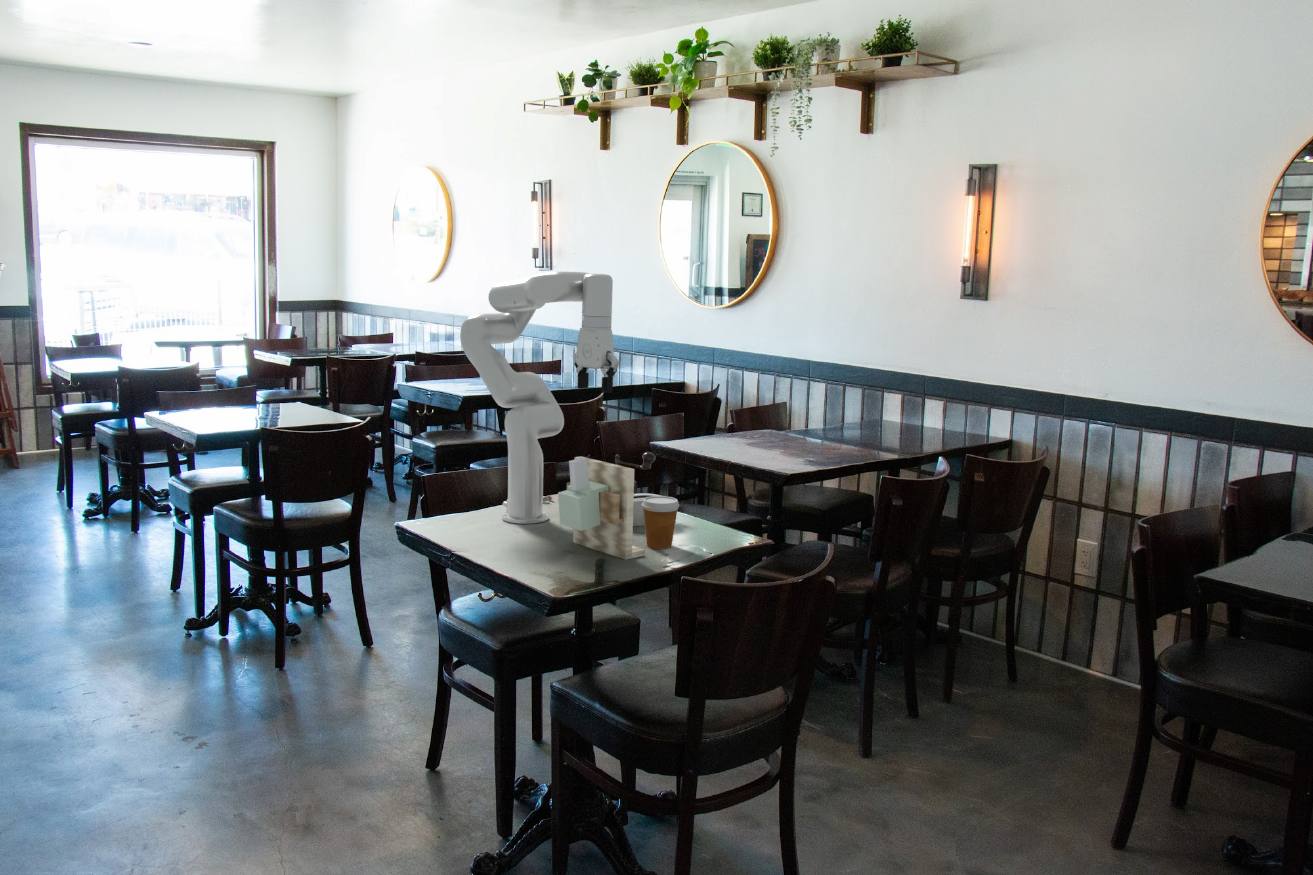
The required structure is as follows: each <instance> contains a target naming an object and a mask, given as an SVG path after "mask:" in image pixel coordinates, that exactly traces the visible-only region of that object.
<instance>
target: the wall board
mask: <svg viewBox="0 0 1313 875" xmlns="http://www.w3.org/2000/svg"><path fill="white" fill-rule="evenodd" d="M578 458H586V459H587V462H588V477H589V481H592V482H596V483H600V484H604V485H608V490H609V492H607V491H602V492H599V509H600V525H597V526H594V527H591V528H588V529H585V530H582V531H580V530H577V529H574V528H572V529H573V532H572V533H573V534H572V535H573V537H572V538H573V540H572V543H574V544H577V545H581V546H583V547H586V548H589V549H592V550H596V551H598V552H601V553H604V554H608V555H611V556H614V557H617V558H620V559H623V560H625V561H626V560H630V559H634V558H639V557H643V556H645V549H643V548H641V547H638V546H634V545H633V534H634V530H633V529H634V526H633V502H634V480H635V468H631V467H629V466H625V465H621V464H619V465H616V463H610V462H607V461H602V460H597V459H593V458H589V457H585V456H574V460H575V459H578ZM569 485H571V482H570V481H569V482H566V490H568V488H567V486H569Z"/></svg>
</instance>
